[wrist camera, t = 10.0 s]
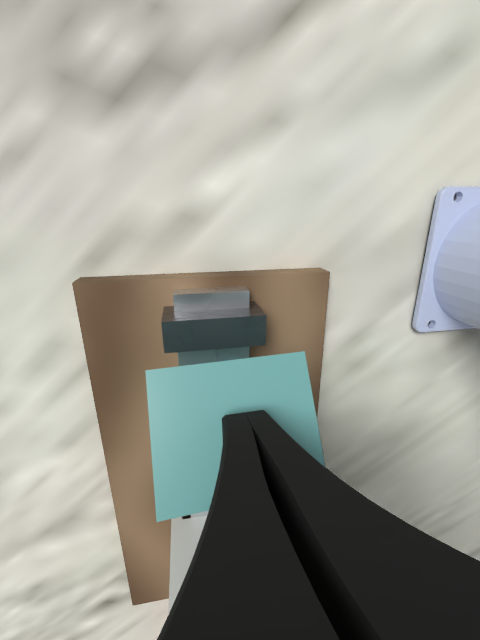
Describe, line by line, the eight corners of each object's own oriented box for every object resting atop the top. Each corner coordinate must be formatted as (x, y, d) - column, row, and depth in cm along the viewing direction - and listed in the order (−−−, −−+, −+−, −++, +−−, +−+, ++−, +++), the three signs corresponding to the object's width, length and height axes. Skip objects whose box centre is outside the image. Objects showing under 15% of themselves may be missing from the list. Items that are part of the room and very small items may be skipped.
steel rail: (255, 285, 15) (266, 297, 13) (252, 576, 22) (259, 613, 20) (162, 289, 15) (159, 303, 13) (189, 588, 22) (190, 628, 20)
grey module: (262, 491, 20) (291, 590, 15) (261, 542, 21) (287, 647, 16) (171, 505, 19) (168, 616, 14) (177, 557, 20) (176, 674, 15)
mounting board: (319, 267, 17) (329, 272, 16) (297, 554, 24) (303, 570, 23) (80, 277, 15) (72, 283, 14) (135, 585, 22) (132, 605, 21)
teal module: (264, 364, 17) (304, 351, 12) (278, 454, 16) (328, 484, 11) (156, 378, 16) (145, 370, 10) (164, 476, 15) (156, 522, 9)
